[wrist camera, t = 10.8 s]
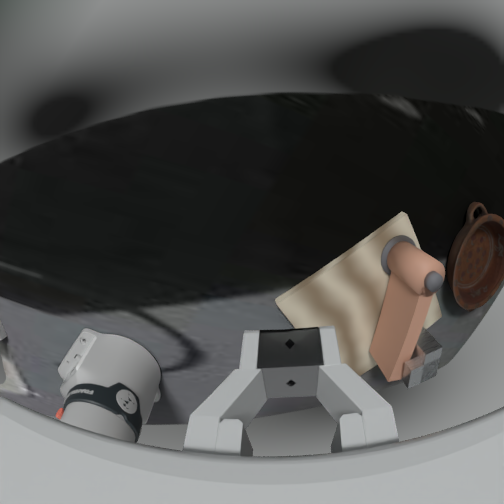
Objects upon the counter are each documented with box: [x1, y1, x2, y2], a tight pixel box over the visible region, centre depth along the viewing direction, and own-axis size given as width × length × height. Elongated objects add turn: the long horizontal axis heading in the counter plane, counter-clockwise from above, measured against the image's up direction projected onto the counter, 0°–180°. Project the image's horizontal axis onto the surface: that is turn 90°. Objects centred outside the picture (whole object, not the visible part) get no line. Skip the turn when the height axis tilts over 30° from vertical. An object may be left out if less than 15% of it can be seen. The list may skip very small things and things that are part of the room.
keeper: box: [402, 327, 442, 388], centre depth 39 cm, size 6×5×12 cm
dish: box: [447, 202, 504, 312], centre depth 41 cm, size 18×22×5 cm
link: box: [369, 241, 445, 382], centre depth 37 cm, size 20×5×9 cm, turn 177°
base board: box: [275, 212, 442, 376], centre depth 44 cm, size 23×23×2 cm
